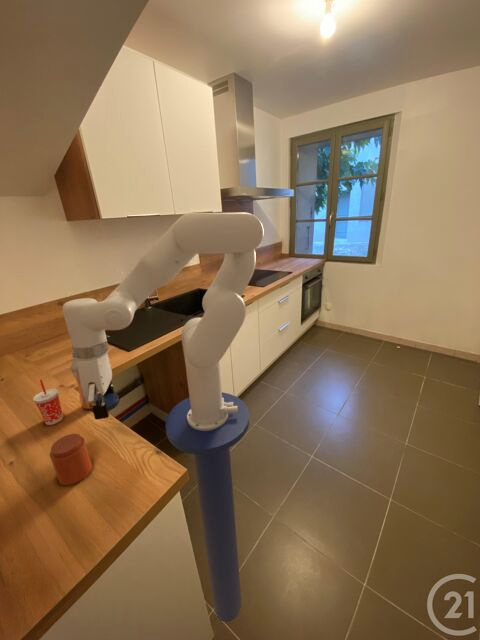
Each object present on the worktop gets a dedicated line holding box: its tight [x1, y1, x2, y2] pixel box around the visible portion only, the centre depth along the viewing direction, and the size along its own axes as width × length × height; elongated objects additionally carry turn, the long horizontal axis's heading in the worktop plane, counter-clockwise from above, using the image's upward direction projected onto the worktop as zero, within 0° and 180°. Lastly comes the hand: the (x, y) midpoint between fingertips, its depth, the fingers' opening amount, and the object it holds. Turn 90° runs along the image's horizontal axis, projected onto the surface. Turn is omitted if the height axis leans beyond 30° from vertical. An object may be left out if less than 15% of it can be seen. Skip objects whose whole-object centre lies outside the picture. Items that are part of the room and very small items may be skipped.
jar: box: [49, 433, 93, 486], centre depth 60 cm, size 7×7×9 cm
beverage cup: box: [32, 379, 64, 426], centre depth 78 cm, size 6×6×14 cm
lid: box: [89, 392, 120, 413], centre depth 70 cm, size 7×7×1 cm
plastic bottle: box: [70, 350, 101, 410], centre depth 83 cm, size 6×7×20 cm
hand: (105, 408), depth 70 cm, fingers closed on lid, 7 cm apart
